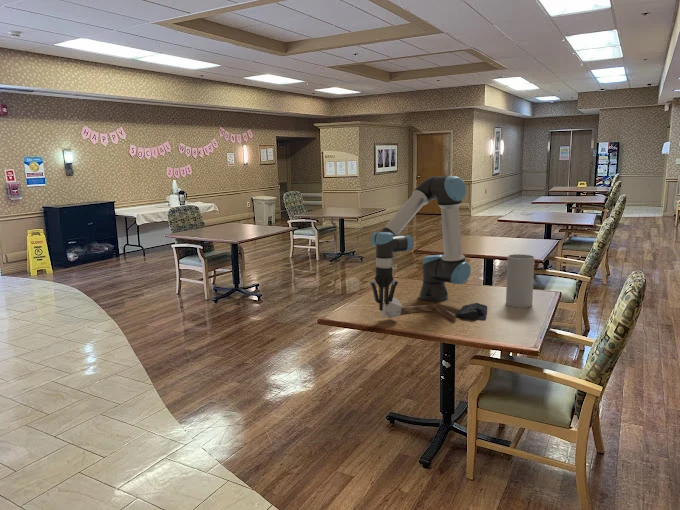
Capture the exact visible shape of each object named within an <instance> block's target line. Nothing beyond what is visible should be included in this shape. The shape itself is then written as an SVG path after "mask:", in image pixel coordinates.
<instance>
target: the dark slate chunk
mask: <svg viewBox="0 0 680 510" xmlns="http://www.w3.org/2000/svg"><path fill="white" fill-rule="evenodd" d="M454 314H455V315H456V319H461V320H467V321H480V322H481V321H482V322H483V321H486V319H487V315H488V306H487V305H486V304H482V303H478V302H475V303H469V304H465V305H462V307H461V308H460V309H458V310H457V311H456V312H455V313H454Z"/></svg>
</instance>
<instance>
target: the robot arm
mask: <svg viewBox="0 0 680 510" xmlns="http://www.w3.org/2000/svg"><path fill="white" fill-rule="evenodd" d="M466 195H467V187H466V183H465V182H464V180H463V179H462V178H461V177H459V176H456V175H455V176H453V175H433V176H429V177H427V178H425V180H422V182H420V184H418V185H417V186H416V187H415V189H414V190H413V191H411V196H410V197H409V198H408V200H407V201H405V203H404V204H403V205H402V206H400V208H399V209H398V211H397V212H396V213H395V214H394V215H393V216H392V218H391V219H389V221H388V222H387V223H386V225H385V226H384V227H382V229H381V230H380V231H375V232H373V233H372V234H371V236H370V243H371V245H372V246H373V247H375V266H376V267H375V277H374V280H373V281H370V282H369V284H370V286H371V287H372V293H373V297H374V301H375V303H377V304H378V306H379V307H378V310H379V311H380V317H381V318H382V319H386V318H387V315H386V311H385V309H386V305H387V304H389V302H388V301H392V299H393V298H394V295H395V291H396V287H397V285H398V284H399V282H398V281H397V280H395V279H394V277H393V266H394V265H393V263H394V261H393V258H394V257H393V255H394V253H401V252H408V251H411V250H412V249H414V246H415V245H414V241H415V240H414V238H413V237H412V236H411V235H409V234H400V233H401V232H402V231H403V229H404V228H405V227H407V225H408V224H409V223H410V221H411V220H412V219H413V218H414V217H415V215H416V214H417V213H418V212H419V211H420V210H421V208H423V206H426V205H428V204H429V202H431V201H433V200H436V201H437V206H438V207H439V208H440V211H441V212H440V213H441V227H442V240H443V242H442V243H443V254H432V255H431V254H430V255H426V256H424V257H423V259H422V285H421V288H420V291H419V295H418V296H419V297H418V298H419V299H420V300H422V301H424V302H425V301H426V302H443V301H444V302H445V301H447V300H448V299H449V293H448V289H447V286H446V283H449V284H452V285H464V283H466V282H467V281H468V279H469V278H470V275H471V271H472V269H471V268H472V267H471V264H469V262H467V261H466V255H464V254H463V252H462V236H461V225H460V224H461V222H460V206H461V204H463V203H462V201H463V200H464V199H465V198H466V197H465V196H466ZM376 285H378V290H377V286H376Z"/></svg>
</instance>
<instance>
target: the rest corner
mask: <svg viewBox="0 0 680 510" xmlns="http://www.w3.org/2000/svg"><path fill="white" fill-rule="evenodd" d="M432 311H436V312H438V313H440V314H441V315H443V316H444V317H446V318H447V319H449V320H450V321H452V322H457V321H456V320H457V318H456V315H455V313H453V312H452V311H450V310H448V309H446V308H444V307H443V306H441V305H440V304H438V303H433V304H424V305H413V306H412V305H411V306H402V307H401V312H400V315H401V314H402V315H403V314H409V313H420V312H421V313H422V312H432Z"/></svg>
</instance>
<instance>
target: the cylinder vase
mask: <svg viewBox="0 0 680 510" xmlns="http://www.w3.org/2000/svg"><path fill="white" fill-rule="evenodd" d="M506 266H507V267H506V269H507V270H506V289H505V290H506V291H505V292H506V294H505V305H507V306H508V307H511V308H513V307H514V308H520V309H526V308H530V307H532V306H533V299H534V298H533V296H534V295H533V293H534V274H535V256H534V255H531V254H523V253H522V254H521V253H520V254H519V253H518V254H517V253H516V254H514V253H513V254H508V255H507V265H506Z"/></svg>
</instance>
